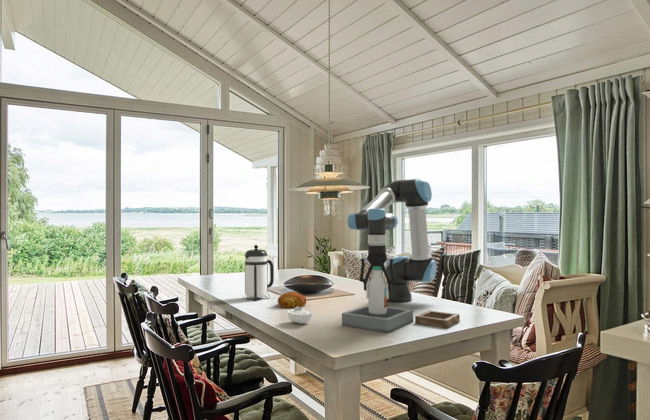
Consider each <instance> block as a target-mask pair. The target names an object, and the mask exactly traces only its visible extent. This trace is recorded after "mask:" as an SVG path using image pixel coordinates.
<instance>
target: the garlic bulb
mask: <svg viewBox="0 0 650 420" xmlns="http://www.w3.org/2000/svg"><path fill="white" fill-rule="evenodd" d="M286 312H287V315H288V320H289V321H291V322H292V323H295V324H299V325H301V324H302V325H303V324H307V323H309V322H310V321H311V319H312V317H313V311H312V310H309V309H305V308H302V307H296V308H293V309H290V310H288V311H286Z"/></svg>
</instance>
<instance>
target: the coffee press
mask: <svg viewBox="0 0 650 420" xmlns="http://www.w3.org/2000/svg"><path fill="white" fill-rule="evenodd" d="M268 265H269V269H270V271H269V270H268ZM274 271H275V270H274V263H273V261H271V260H270V259H268V252H267V251H266V250H265V249H259V246H258V245H257V244H254V246H253V249H248V250H246V251H245V254H244V296H243V297H242V299H243V298H246V299H247V298H251V299H253V301H254V300H255V301H254V302H257V301H258V299H260V298H264V297H265V298H267V299H268V298H269V299H270V298H271V296H270V295H269V288H271V287H272V286H273V284H274V282H275V279H274V277H275V276H274V274H275V273H274ZM268 272H269V275H270V277H269V278H270V280H268ZM268 282H269V283H268ZM267 295H268V296H267ZM245 296H246V297H245ZM256 300H257V301H256Z"/></svg>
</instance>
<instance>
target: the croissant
mask: <svg viewBox="0 0 650 420" xmlns="http://www.w3.org/2000/svg"><path fill="white" fill-rule="evenodd" d="M307 299H308V298H306V296H305V295H303V294H301V293H299V292H297V291H287V292H285V293H282V294H281V295H280V296H279V297H278V298H277V303H278V305H279V307H280V308H284V309H295V308H296V307H301V308H303V307H304V306H305V305H306V304H307Z"/></svg>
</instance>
